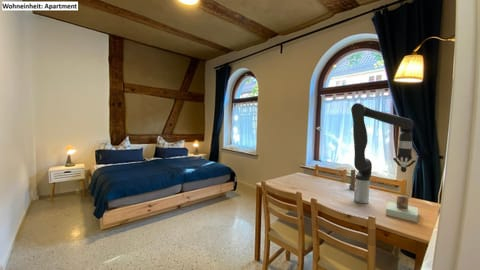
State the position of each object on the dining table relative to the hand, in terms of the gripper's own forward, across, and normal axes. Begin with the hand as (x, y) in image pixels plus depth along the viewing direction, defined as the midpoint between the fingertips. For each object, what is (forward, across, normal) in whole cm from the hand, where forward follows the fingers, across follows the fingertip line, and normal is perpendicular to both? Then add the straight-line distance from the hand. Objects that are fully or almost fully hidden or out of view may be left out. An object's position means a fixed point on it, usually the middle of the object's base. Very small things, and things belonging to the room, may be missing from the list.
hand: (403, 172), depth 147 cm
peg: (+26, -1, +11) cm, 28 cm away
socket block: (+26, -1, +11) cm, 28 cm away
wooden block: (+27, +34, -26) cm, 51 cm away
